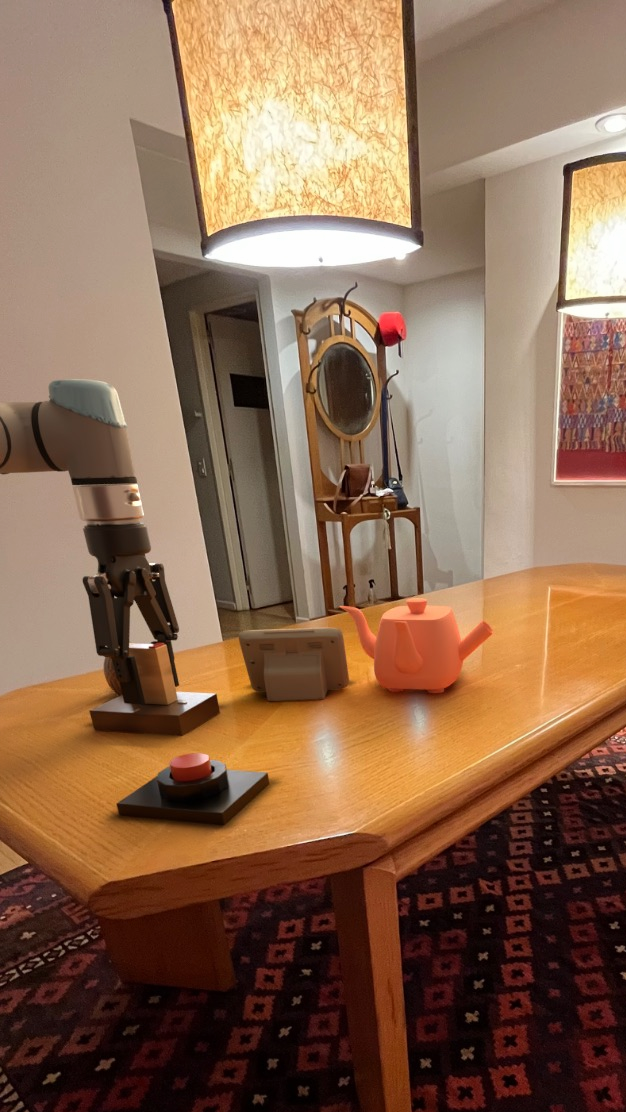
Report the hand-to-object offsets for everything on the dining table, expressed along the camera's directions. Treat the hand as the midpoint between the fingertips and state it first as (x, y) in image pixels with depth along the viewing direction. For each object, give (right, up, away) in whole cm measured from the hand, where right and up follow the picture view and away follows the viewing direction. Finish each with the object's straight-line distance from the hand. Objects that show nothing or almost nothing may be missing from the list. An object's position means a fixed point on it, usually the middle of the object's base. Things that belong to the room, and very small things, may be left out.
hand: (152, 693), depth 96 cm
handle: (0, -1, 0) cm, 1 cm away
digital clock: (+18, +2, +13) cm, 22 cm away
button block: (+15, -16, -23) cm, 32 cm away
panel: (0, -4, +2) cm, 4 cm away
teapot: (+37, +4, +15) cm, 40 cm away
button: (+15, -13, -25) cm, 32 cm away
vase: (-10, +2, +15) cm, 18 cm away
